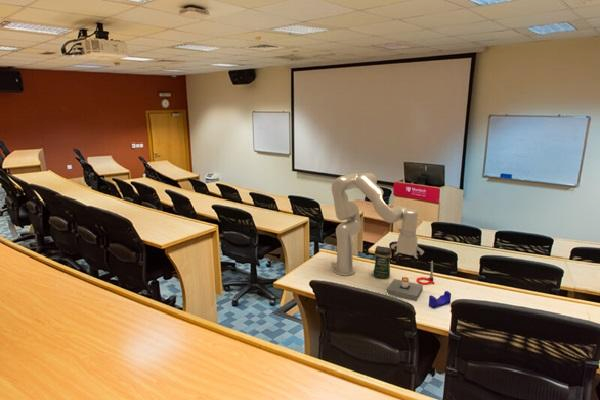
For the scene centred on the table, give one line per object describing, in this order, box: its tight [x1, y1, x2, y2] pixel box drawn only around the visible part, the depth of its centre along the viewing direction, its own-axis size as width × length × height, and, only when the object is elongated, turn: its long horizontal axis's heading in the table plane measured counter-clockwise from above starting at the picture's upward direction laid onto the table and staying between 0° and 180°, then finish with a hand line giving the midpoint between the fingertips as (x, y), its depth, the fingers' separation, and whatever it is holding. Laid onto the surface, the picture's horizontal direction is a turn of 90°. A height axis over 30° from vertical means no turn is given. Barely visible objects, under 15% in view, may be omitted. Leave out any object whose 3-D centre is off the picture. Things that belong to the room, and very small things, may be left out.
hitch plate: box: [386, 278, 424, 302], centre depth 204 cm, size 16×14×3 cm
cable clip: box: [428, 290, 452, 310], centre depth 191 cm, size 12×4×6 cm, turn 116°
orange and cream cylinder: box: [401, 276, 410, 290], centre depth 203 cm, size 4×4×8 cm
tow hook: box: [416, 260, 435, 286], centre depth 215 cm, size 8×13×9 cm
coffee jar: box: [373, 245, 392, 280], centre depth 221 cm, size 10×8×19 cm
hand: (405, 262), depth 200 cm, fingers open, 9 cm apart
